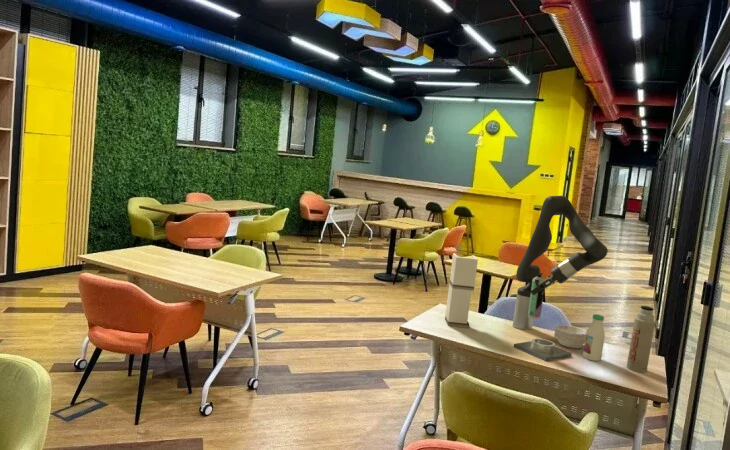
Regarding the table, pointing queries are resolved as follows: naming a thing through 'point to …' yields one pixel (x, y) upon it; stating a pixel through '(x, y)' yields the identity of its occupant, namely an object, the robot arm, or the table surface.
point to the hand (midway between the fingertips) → (533, 292)
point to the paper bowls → (570, 336)
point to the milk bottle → (594, 339)
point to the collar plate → (542, 354)
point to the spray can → (536, 299)
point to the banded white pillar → (460, 290)
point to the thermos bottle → (641, 340)
